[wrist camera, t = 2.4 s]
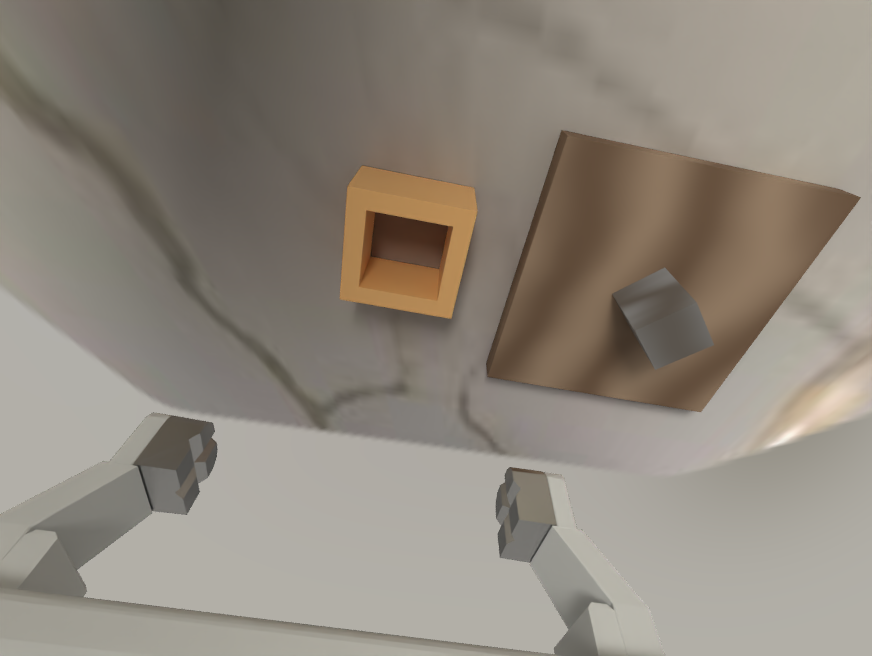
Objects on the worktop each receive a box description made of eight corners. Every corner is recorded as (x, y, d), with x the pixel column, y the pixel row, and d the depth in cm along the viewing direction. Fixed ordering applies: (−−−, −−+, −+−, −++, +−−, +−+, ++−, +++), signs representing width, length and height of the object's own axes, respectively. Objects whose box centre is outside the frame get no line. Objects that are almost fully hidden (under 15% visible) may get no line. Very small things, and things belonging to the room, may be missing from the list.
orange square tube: (353, 267, 28) (339, 299, 24) (361, 165, 24) (347, 186, 21) (451, 285, 28) (451, 318, 25) (474, 187, 24) (477, 211, 21)
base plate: (486, 363, 32) (491, 418, 27) (561, 130, 23) (589, 153, 18) (691, 397, 33) (730, 456, 28) (839, 189, 24) (931, 225, 19)
